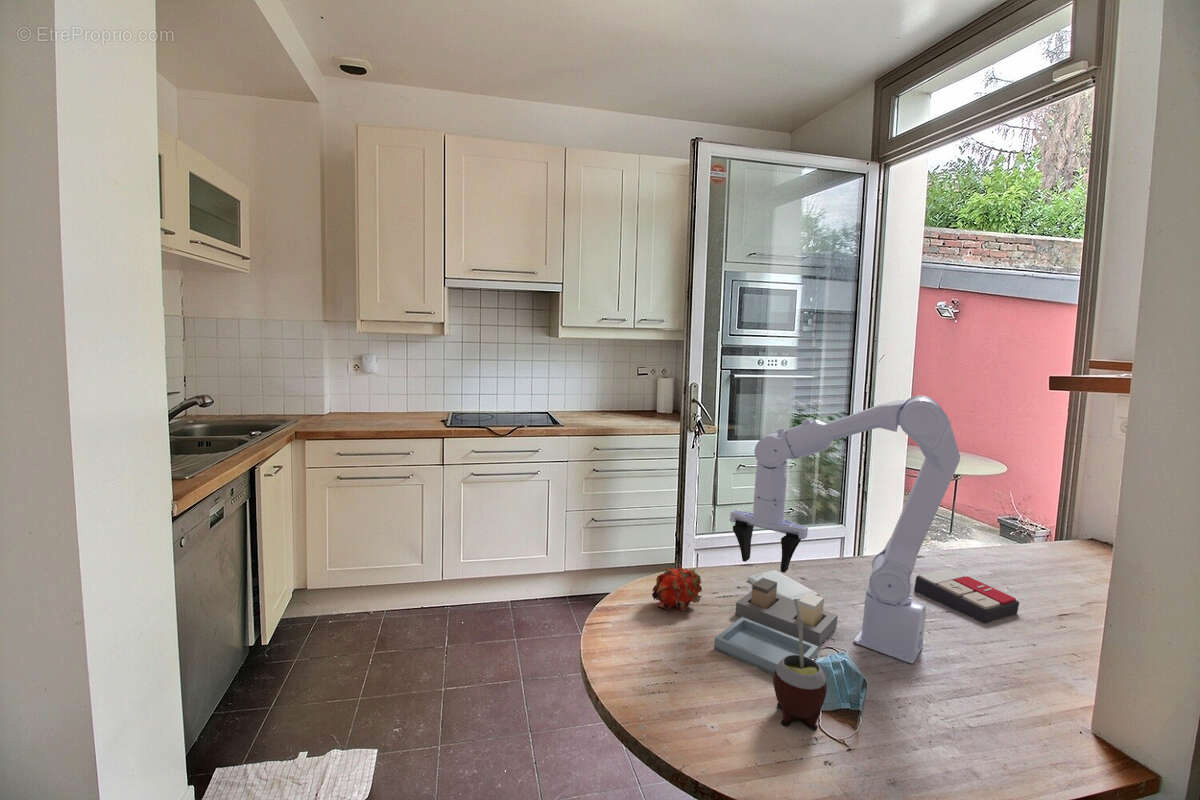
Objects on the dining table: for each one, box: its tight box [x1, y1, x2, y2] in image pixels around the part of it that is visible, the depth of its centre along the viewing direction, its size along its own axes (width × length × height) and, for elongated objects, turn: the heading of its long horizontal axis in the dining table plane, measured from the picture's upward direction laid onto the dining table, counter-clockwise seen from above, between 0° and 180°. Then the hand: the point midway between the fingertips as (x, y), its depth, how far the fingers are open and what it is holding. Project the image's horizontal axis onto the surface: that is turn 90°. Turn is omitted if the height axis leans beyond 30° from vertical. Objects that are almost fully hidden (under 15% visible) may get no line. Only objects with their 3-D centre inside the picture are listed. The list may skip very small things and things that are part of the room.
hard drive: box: [747, 569, 821, 601], centre depth 122 cm, size 2×8×12 cm
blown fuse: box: [751, 578, 777, 609], centre depth 111 cm, size 3×4×6 cm, turn 140°
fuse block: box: [735, 590, 838, 648], centre depth 108 cm, size 16×9×2 cm, turn 49°
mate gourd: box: [772, 599, 828, 732], centre depth 81 cm, size 8×8×15 cm
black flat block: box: [913, 568, 1020, 624], centre depth 119 cm, size 11×4×15 cm
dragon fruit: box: [651, 564, 703, 612], centre depth 112 cm, size 8×8×12 cm
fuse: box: [797, 593, 825, 627], centre depth 105 cm, size 3×4×6 cm, turn 140°
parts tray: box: [713, 617, 819, 676], centre depth 97 cm, size 14×10×2 cm
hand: (764, 565), depth 111 cm, fingers open, 7 cm apart
